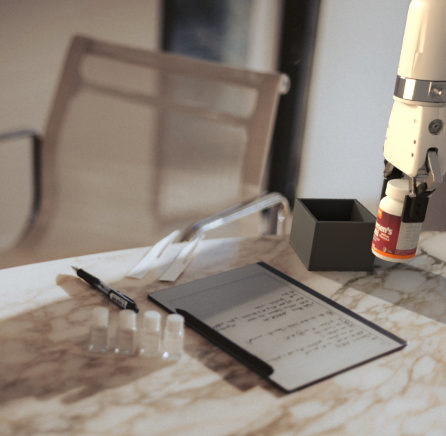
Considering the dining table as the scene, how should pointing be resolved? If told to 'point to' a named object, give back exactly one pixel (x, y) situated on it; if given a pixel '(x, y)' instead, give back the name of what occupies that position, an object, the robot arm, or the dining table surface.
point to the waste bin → (333, 234)
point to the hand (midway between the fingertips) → (401, 211)
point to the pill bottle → (395, 226)
